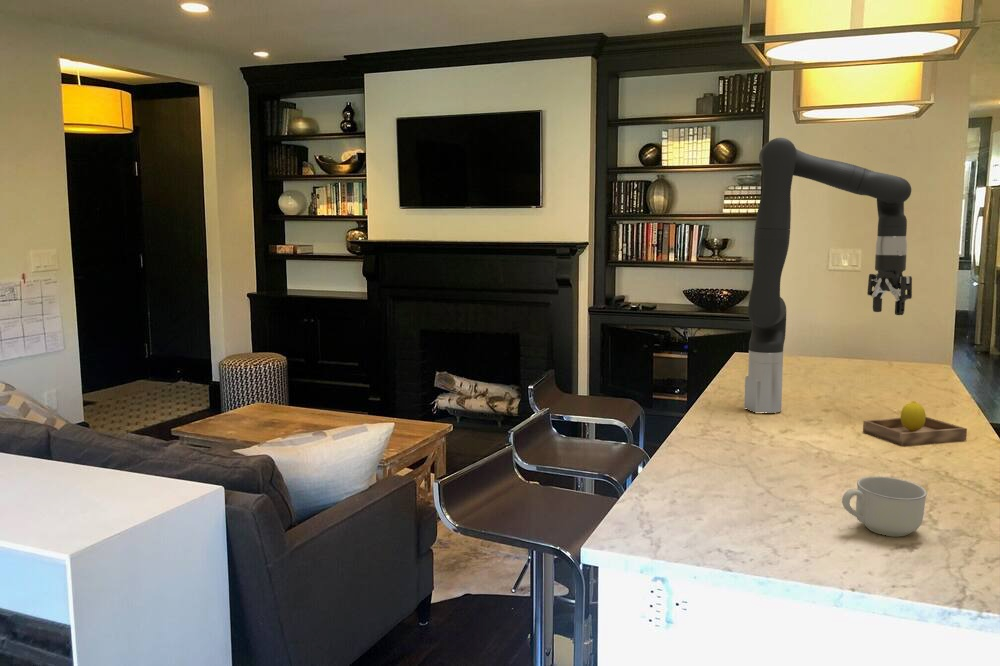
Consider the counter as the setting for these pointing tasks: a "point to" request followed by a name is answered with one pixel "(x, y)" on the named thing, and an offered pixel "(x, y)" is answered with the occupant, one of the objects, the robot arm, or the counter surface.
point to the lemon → (913, 416)
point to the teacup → (887, 505)
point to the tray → (926, 435)
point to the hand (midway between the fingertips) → (888, 313)
